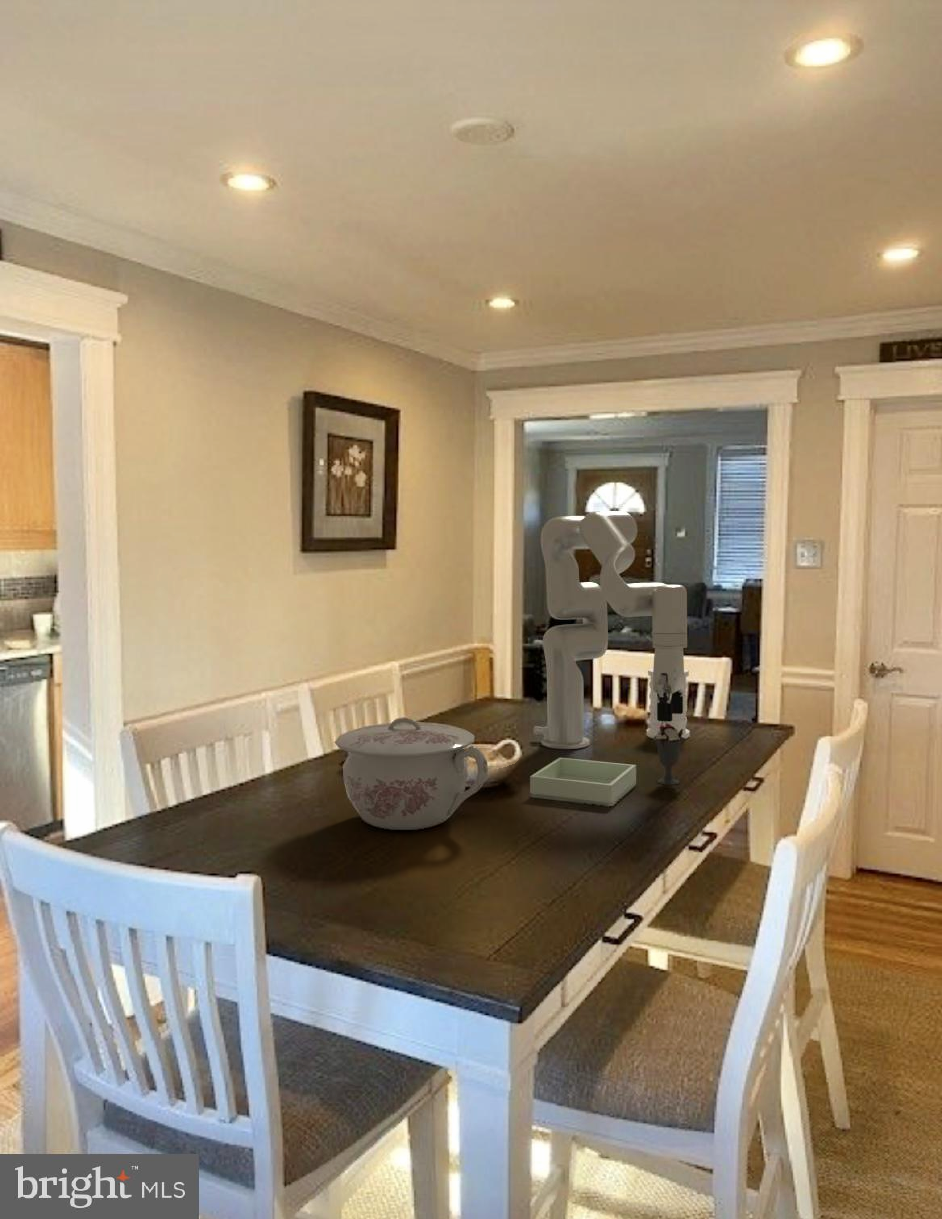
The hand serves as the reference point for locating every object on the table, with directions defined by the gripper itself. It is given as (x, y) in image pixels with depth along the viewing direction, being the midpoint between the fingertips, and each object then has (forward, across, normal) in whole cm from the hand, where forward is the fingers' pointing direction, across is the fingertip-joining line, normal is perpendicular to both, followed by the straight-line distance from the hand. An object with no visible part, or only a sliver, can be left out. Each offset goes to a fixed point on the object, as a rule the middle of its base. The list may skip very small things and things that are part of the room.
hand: (670, 717), depth 214 cm
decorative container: (+14, -48, -13) cm, 51 cm away
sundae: (+15, 0, -1) cm, 15 cm away
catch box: (+15, +14, -16) cm, 25 cm away
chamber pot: (+15, +48, -41) cm, 64 cm away
